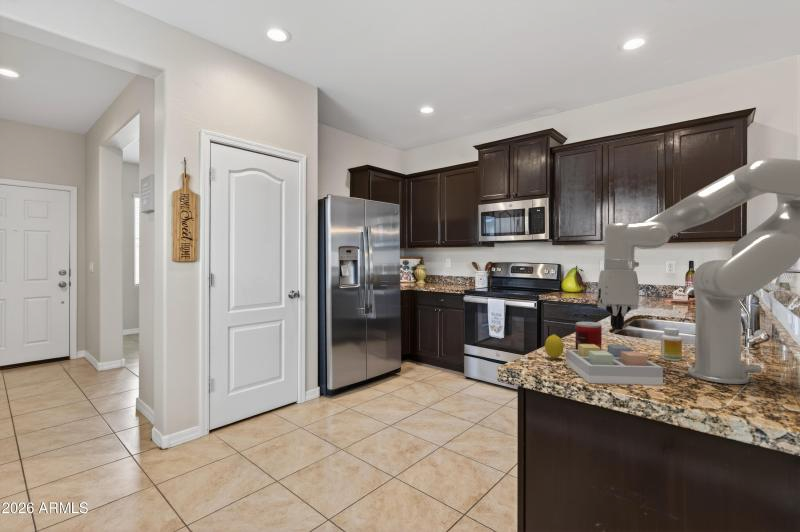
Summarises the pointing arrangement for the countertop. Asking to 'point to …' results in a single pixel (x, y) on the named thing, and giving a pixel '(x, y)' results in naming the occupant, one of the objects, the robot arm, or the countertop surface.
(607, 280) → the robot arm
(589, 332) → the canned food
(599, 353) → the key sage
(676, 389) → the countertop surface
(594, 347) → the key mustard
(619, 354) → the key slate
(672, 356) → the supplement bottle
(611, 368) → the keypad
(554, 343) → the lemon
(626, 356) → the key terracotta
